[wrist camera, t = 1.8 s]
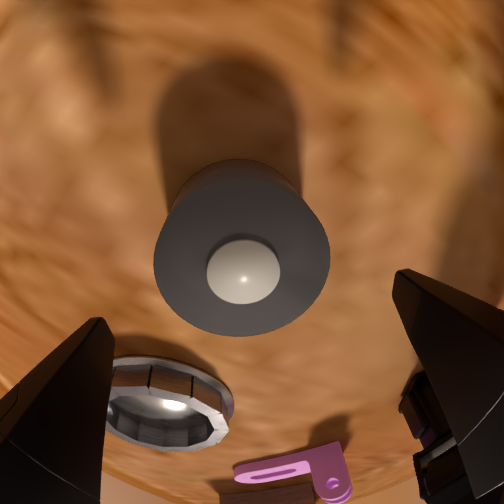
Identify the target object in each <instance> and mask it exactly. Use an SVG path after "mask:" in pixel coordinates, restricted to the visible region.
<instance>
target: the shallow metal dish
mask: <svg viewBox="0 0 504 504" xmlns="http://www.w3.org/2000/svg"><path fill="white" fill-rule="evenodd" d="M233 412H234V401H233V397H232V395H231V393H230V391H229V390H228V388H227V387H226V386H225V385H224V384H223V383H222V382H221V381H219V380H218V379H217V378H215V377H214V376H212V375H211V374H209V373H207V372H205V371H203V370H201V369H199V368H197V367H194V366H192V365H189V364H187V363H183V362H180V361H176V360H172V359H168V358H163V357H156V356H147V355H128V356H120V357H115V358H114V359H113V373H112V385H111V392H110V398H109V405H108V412H107V420H106V428H105V429H106V430H107V431H108V432H110V433H112V434H114V435H115V436H117V437H119V438H121V439H123V440H126V441H128V442H130V443H132V444H135V445H138V446H142V447H147V448H151V449H156V450H160V451H164V450H165V451H193V450H194V451H196V450H200V449H203V448H206V447H209V446H212V445H216V444H217V443H219V442H220V441H221V440H222V438H223V437H224V436H225V435H226V434H227V433H228V431H229V420H230V418H231V417H232V415H233Z"/></svg>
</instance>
